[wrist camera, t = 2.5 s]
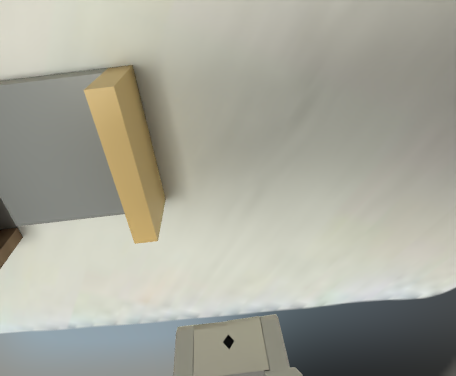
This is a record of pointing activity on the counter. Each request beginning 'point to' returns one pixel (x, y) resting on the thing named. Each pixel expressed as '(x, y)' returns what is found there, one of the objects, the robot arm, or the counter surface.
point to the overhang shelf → (8, 243)
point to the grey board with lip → (79, 151)
